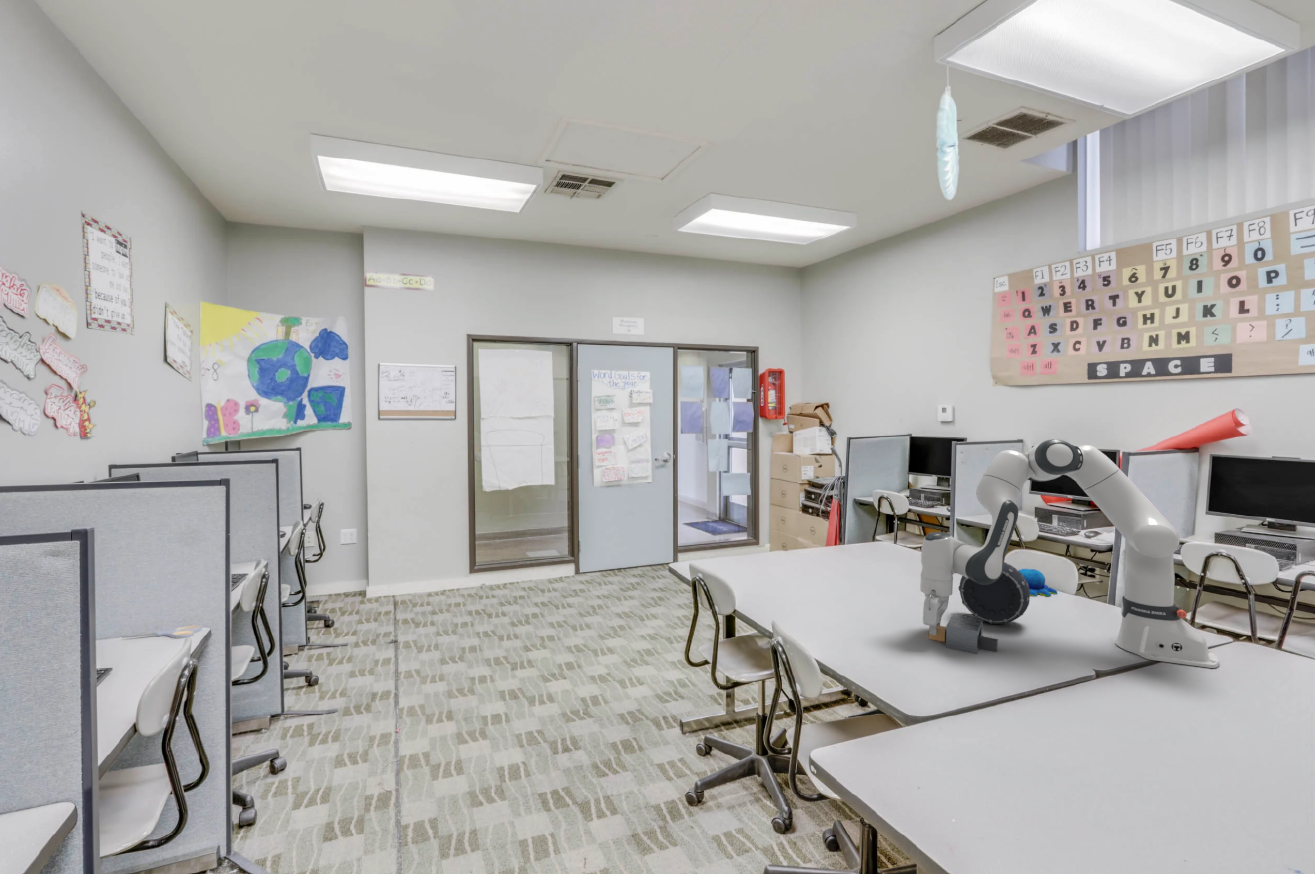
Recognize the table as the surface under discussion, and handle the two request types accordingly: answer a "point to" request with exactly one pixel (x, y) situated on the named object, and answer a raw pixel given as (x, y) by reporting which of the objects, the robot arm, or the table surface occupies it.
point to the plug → (982, 643)
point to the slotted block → (963, 633)
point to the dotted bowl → (997, 597)
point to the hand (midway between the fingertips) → (935, 631)
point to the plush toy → (1036, 583)
